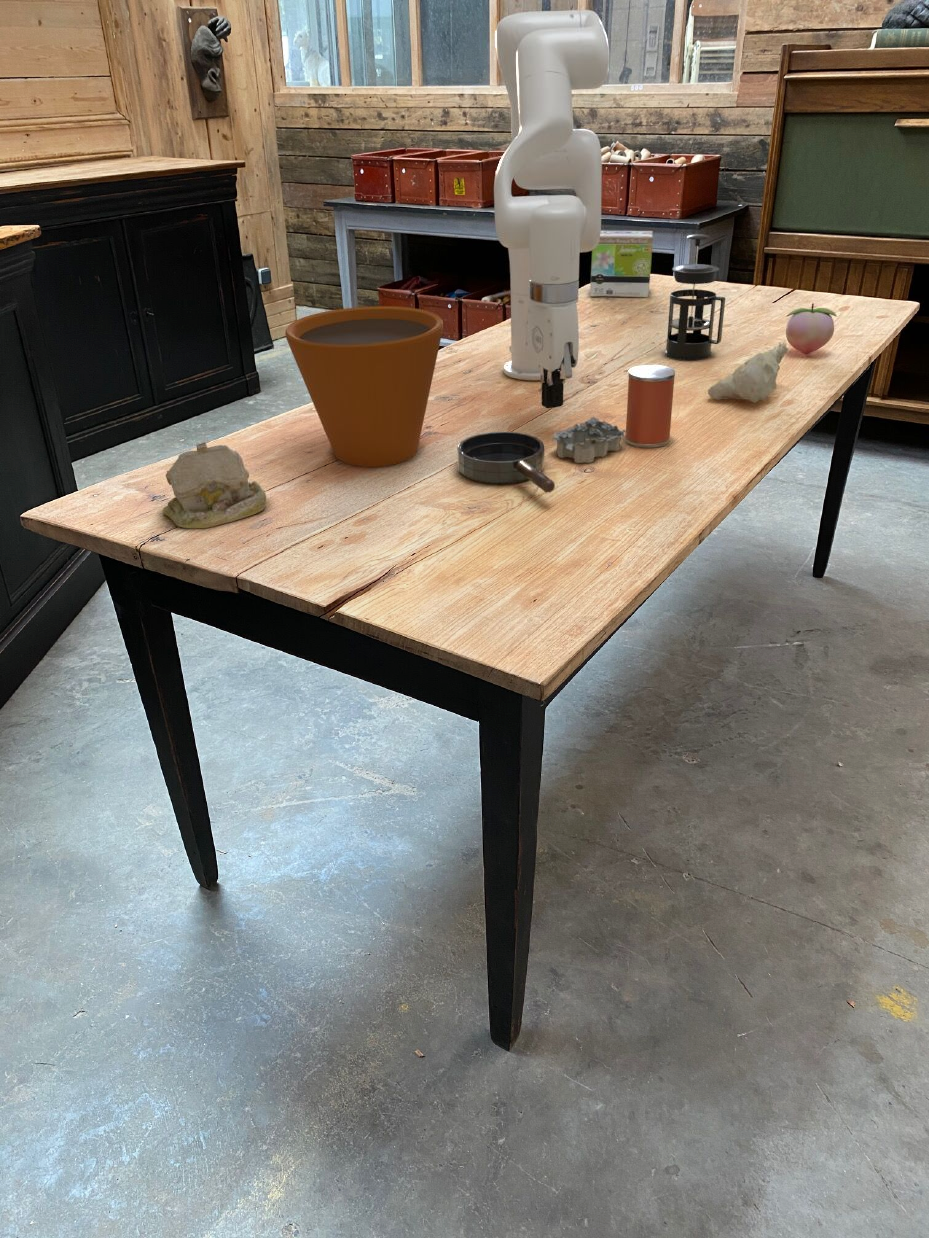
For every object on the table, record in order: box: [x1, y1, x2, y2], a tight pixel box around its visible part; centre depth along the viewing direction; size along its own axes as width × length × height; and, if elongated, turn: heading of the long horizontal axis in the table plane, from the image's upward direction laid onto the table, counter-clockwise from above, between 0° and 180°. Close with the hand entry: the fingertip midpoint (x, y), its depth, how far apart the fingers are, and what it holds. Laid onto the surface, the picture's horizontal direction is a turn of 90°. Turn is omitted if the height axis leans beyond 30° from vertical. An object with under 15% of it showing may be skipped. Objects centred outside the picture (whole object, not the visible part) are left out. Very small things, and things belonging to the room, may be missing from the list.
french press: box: [664, 233, 726, 362], centre depth 187 cm, size 12×9×23 cm
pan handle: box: [516, 460, 556, 493], centre depth 132 cm, size 10×2×2 cm, turn 23°
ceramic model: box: [162, 441, 267, 529], centre depth 131 cm, size 14×11×10 cm
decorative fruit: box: [785, 303, 838, 355], centre depth 188 cm, size 9×8×10 cm
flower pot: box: [284, 305, 444, 468], centre depth 147 cm, size 24×24×20 cm
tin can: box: [624, 364, 676, 449], centre depth 148 cm, size 7×7×11 cm
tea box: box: [589, 230, 654, 299], centre depth 240 cm, size 15×10×15 cm, turn 81°
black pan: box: [456, 431, 546, 485], centre depth 142 cm, size 13×13×4 cm
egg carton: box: [552, 416, 626, 464], centre depth 147 cm, size 11×8×4 cm
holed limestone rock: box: [707, 342, 789, 403], centre depth 166 cm, size 15×7×15 cm
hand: (552, 405), depth 155 cm, fingers closed
